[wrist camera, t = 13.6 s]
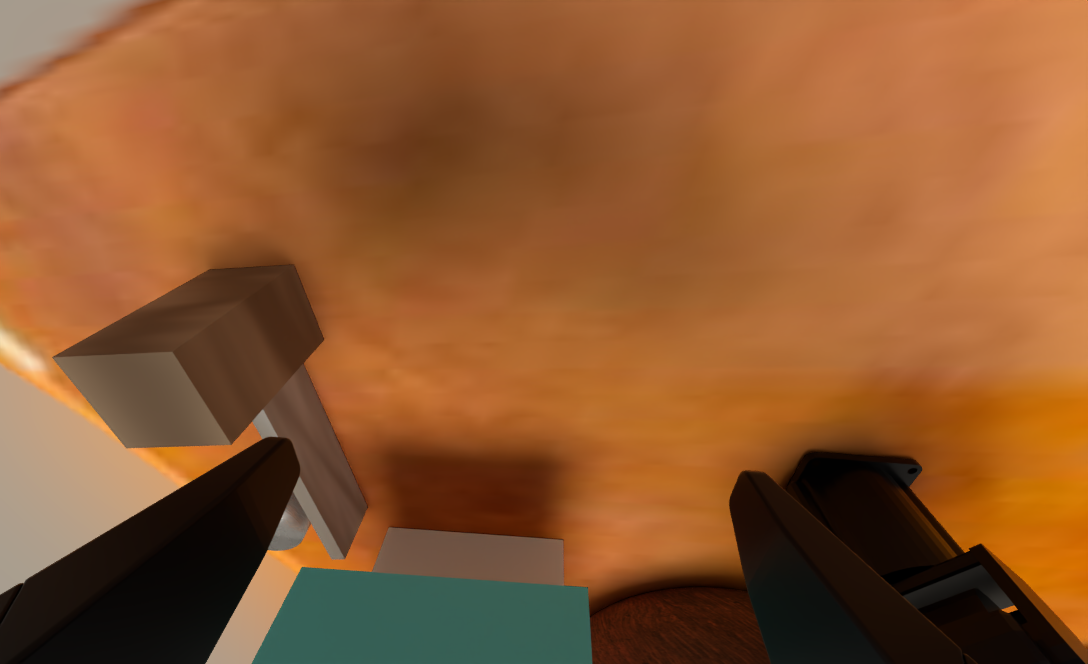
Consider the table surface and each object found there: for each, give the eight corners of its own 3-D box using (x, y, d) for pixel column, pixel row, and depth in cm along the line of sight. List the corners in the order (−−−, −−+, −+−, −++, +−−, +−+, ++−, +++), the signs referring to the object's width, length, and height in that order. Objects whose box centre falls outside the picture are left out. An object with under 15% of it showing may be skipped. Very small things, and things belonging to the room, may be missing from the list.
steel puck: (307, 458, 26) (281, 497, 23) (336, 508, 28) (316, 548, 26) (234, 463, 26) (201, 502, 24) (269, 512, 29) (243, 552, 26)
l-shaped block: (579, 452, 25) (596, 741, 14) (556, 586, 32) (556, 840, 22) (370, 436, 24) (223, 717, 14) (396, 575, 32) (315, 826, 21)
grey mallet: (293, 264, 19) (172, 351, 13) (391, 506, 28) (345, 625, 22) (209, 269, 19) (52, 357, 13) (332, 507, 28) (271, 625, 22)
